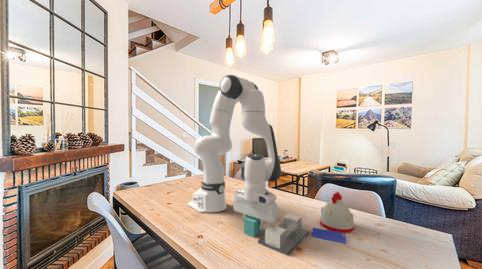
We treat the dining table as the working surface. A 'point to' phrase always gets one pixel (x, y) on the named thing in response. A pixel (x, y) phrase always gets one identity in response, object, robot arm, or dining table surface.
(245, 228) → the block
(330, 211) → the kitchen timer
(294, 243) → the rail panel
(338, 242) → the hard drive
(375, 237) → the dining table surface
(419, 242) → the dining table surface
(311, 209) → the dining table surface
